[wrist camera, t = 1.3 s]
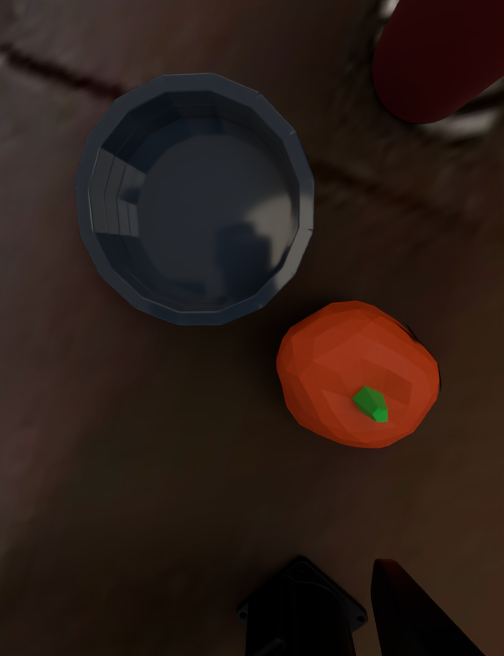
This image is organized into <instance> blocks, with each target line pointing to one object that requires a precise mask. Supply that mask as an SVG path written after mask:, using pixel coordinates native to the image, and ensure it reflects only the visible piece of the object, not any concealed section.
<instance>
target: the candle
mask: <svg viewBox="0 0 504 656" xmlns="http://www.w3.org/2000/svg"><path fill="white" fill-rule="evenodd" d="M372 75H373V83H374V86H375V90H376V92H377V95H378V97H379V99H380V101H381V102H382V104H383V105H384V106H385V108H386V109H387V110H388V111H389V112H390V113H392V114H393V115H394V116H396V117H398V118H400V119H401V120H404V121H407V122H410V123H417V124H425V123H432V122H436V121H439V120H441V119H444V118H446V117H448V116H450V115H451V114H453V113H454V112H455V111H457V110H458V109H459V108H461V107H462V106H464V105H465V104H466V103H468V102H469V101H470V100H472V99H473V98H474V97H476V96H477V95H478V94H480V93H481V92H482V91H484V90H485V89H486V88H488V87H489V86H490V85H492V84H493V83H494V82H496V81H497V80H498V79H500V78H501V77H502V76H504V0H399V2H398V4H397V6H396V8H395V10H394V11H393V13H392V15H391V17H390V19H389V21H388V23H387V25H386V27H385V29H384V31H383V33H382V35H381V37H380V39H379V41H378V43H377V46H376V49H375V52H374V57H373V64H372Z"/></svg>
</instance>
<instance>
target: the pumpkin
mask: <svg viewBox="0 0 504 656" xmlns="http://www.w3.org/2000/svg"><path fill="white" fill-rule="evenodd" d="M405 324H406V323H405ZM406 325H407V324H406ZM407 327H408V326H407ZM408 329H409V331H410V332H409V331H408V330H407V329H406V328H405V327H403V326H402V325H401V324H400V323H399V322H398V321H397V320H395V319H394V318H392V317H390V316H389V315H387V314H386V313H384V312H383V311H381V310H380V309H378V308H377V307H375V306H373V305H369V304H366V303H363V302H360V301H357V300H355V301H346V302H336V303H331V304H329V305H327V306H325V307H324V308H322V309H320V310H318V311H317V312H315V313H313V314H311V315H310V316H308V317H306V318H305V319H303V320H302V321H300V322H298V323H297V324H295V325H293V326H292V327H290V329H289V330H288V332H287V333H286V335H285V336H284V338H283V339H282V342H281V345H280V349H279V352H278V355H277V359H276V366H277V372H278V375H279V378H280V381H281V384H282V389H283V393H284V398H285V402H286V407H287V408H288V409H289V411H290V412H291V413H292V415H293V416H294V418H295V419H296V420H297V422H298V423H299V424H300V425H301V426H303V427H305V428H307V429H309V430H311V431H313V432H315V433H317V434H319V435H321V436H323V437H325V438H328V439H330V440H333V441H335V442H338V443H341V444H343V445H348V446H353V447H361V448H381V447H386V446H389V445H391V444H392V443H394V442H396V441H398V440H399V439H401V438H403V437H405V436H407V435H409V434H411V433H413V432H414V430H415V429H416V428H417V427H418V425H419V424H420V423H421V421H422V420H423V418H424V417H425V415H426V414H427V413H428V411H429V410H430V408H431V407H432V405H433V404H434V402H435V401H436V399H437V395H438V387H439V382H440V391H441V378H440V371H439V373H438V369H439V365H438V367H437V362H436V361H435V360H434V359H433V357H432V356H433V355H432V354H431V355H432V356H431V355H430V354H429V353H428V351H429V350H428V351H427V350H426V349H425V348H424V347H423V345H424V344H423V345H422V343H421V342H420V341H419V340H418V339H417V337H416V336H415V334H414V333H413V332H412V330H411V329H410V328H409V327H408ZM426 348H427V347H426ZM429 352H430V351H429Z"/></svg>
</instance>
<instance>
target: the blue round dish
mask: <svg viewBox="0 0 504 656" xmlns="http://www.w3.org/2000/svg"><path fill="white" fill-rule="evenodd" d="M74 186H75V188H74V189H75V198H76V206H77V215H78V224H79V232H80V237H81V239H82V241H83V243H84V245H85V247H86V249H87V251H88V253H89V255H90V257H91V259H92V260H93V262H94V264H95V266H96V268H97V270H98V272H99V274H100V276H101V278H103V280H104V281H106V282H107V283H108V284H109V285H110V286H111V287H112V288H113V289H114V290H115V291H116V292H118V293H119V294H120V295H121V296H122V297H123V298H124V299H125V300H126V301H127V302H128V303H130V304H131V305H132V306H133V307H134V308H137V310H139V311H141V312H144V313H147V314H149V315H152V316H154V317H157V318H159V319H162V320H164V321H167V322H169V323H172V324H175V325H179V326H207V325H224V324H226V323H229V322H231V321H233V320H236V319H238V318H241V317H243V316H245V315H248V314H250V313H252V312H255V311H257V310H260V309H262V308H263V307H264V306H265V305H266V304H267V303H268V302H269V301H270V300H271V299H272V298H273V297H274V296H275V295H276V294H277V293H278V292H279V291H280V290H281V289H282V288H283V287H284V286H285V285H286V284H287V283H288V282H289V281H290V280H291V279H292V278H293V277H294V276H295V274H296V272H297V270H298V267H299V265H300V263H301V260H302V258H303V255H304V253H305V251H306V248H307V246H308V243H309V241H310V239H311V236H312V234H313V230H314V193H315V181H314V176H313V174H312V171H311V168H310V166H309V163H308V161H307V158H306V155H305V153H304V150H303V147H302V145H301V142H300V139H299V137H298V134H297V132H296V131H295V129H294V128H293V127H292V126H291V125H290V124H289V123H288V122H287V120H286V119H285V118H284V117H283V116H282V115H281V114H280V113H279V112H278V111H277V110H276V109H275V108H274V107H273V106H272V105H271V103H270V102H269V101H268V100H267V99H266V98H265V97H264V96H263V95H262V94H260V92H258V91H256V90H254V89H251V88H249V87H247V86H244V85H242V84H239V83H237V82H235V81H232V80H230V79H228V78H225V77H223V76H220V75H218V74H216V73H187V74H163V75H162V76H161V75H160V76H158V77H156V78H154V79H152V80H150V81H148V82H147V83H145V84H143V85H141V86H139V87H137V88H135V89H133V90H132V91H130V92H128V93H126V94H124V95H122V96H120V97H119V98H118V99H116V100H115V101H114V102H113V104H112V105H111V106H110V108H109V109H108V110H107V111H106V113H105V114H104V115H103V117H102V118H101V119H100V121H99V122H98V123H97V125H96V126H95V127H94V128H93V130H92V131H91V132H90V134H89V135H88V136H87V138H86V141H85V145H84V149H83V153H82V157H81V161H80V164H79V168H78V172H77V176H76V180H75V184H74Z"/></svg>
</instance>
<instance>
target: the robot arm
mask: <svg viewBox="0 0 504 656" xmlns="http://www.w3.org/2000/svg"><path fill="white" fill-rule="evenodd" d="M300 565H304V566H300ZM371 601H372V607H373V612H374V617H375V622H376V627H377V632H378V637H379V642H380V647H381V652H382V656H485V655H484V654H483V653H482V652H481V651H480V650H479V648H478V647H477V646H476V645H475V644H474V643H473V642H472V641H471V640H470V639H469V638H468V637H467V636H466V635H465V634H464V633H463V631H462V630H461V629H460V628H459V627H458V626H457V625H456V624H455V623H454V622H453V621H452V620H451V619H450V618H449V617H448V616H447V615H446V613H445V612H444V611H443V610H442V609H441V608H440V607H439V606H438V605H437V604H436V603H435V602H434V601H433V600H432V599H431V598H430V597H429V595H428V594H427V593H426V592H425V591H424V590H423V589H422V588H421V587H420V586H419V585H418V584H417V583H416V582H415V581H414V580H413V579H412V577H411V576H410V575H409V574H408V573H407V572H406V571H405V570H404V569H403V568H402V567H401V566H400V565H399V564H398V563H397V562H396V561H395V560H392V559H376V560H375V562H374V565H373V574H372V583H371ZM236 617H237V618H238V619H239V620H240V621H241V622H242V623H244V624H245V625H246V626H247V634H246V652H245V656H356V653H355V648H354V643H353V639H352V633H353V632H354V631H356V630H357V629H359V628H360V627H361V626H363V625H364V624H365V623H366V622H367V621H368V616H367V612H366V610H365V609H364V608H363V607H362V606H361V605H360V604H359V603H357V602H356V601H355V600H354V599H353V598H352V597H351V596H349V595H348V594H347V593H346V592H345V591H344V590H342V589H341V588H340V587H339V586H338V585H337V584H336V583H334V582H333V581H332V580H331V579H330V578H329V577H328V576H326V575H325V574H324V573H323V572H322V571H321V570H320V569H318V568H317V567H316V566H315V565H314V564H313V563H312V562H310V561H309V560H308V559H307V558H305V557H298V558H296V559H295V560H294V561H292V562H291V563H290V564H289V565H287V566H286V567H285V568H284V569H282V570H281V571H280V572H279V573H277V574H276V575H275V576H274V577H272V578H271V579H270V580H269V581H267V582H266V583H265V584H264V585H262V586H261V587H260V588H259V589H257V590H256V591H255V592H254V593H252V594H251V595H250V596H249V597H248V598H246V599H245V600H244V601H243V602H241V603H240V604H239V605H238V606H237V609H236Z"/></svg>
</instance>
